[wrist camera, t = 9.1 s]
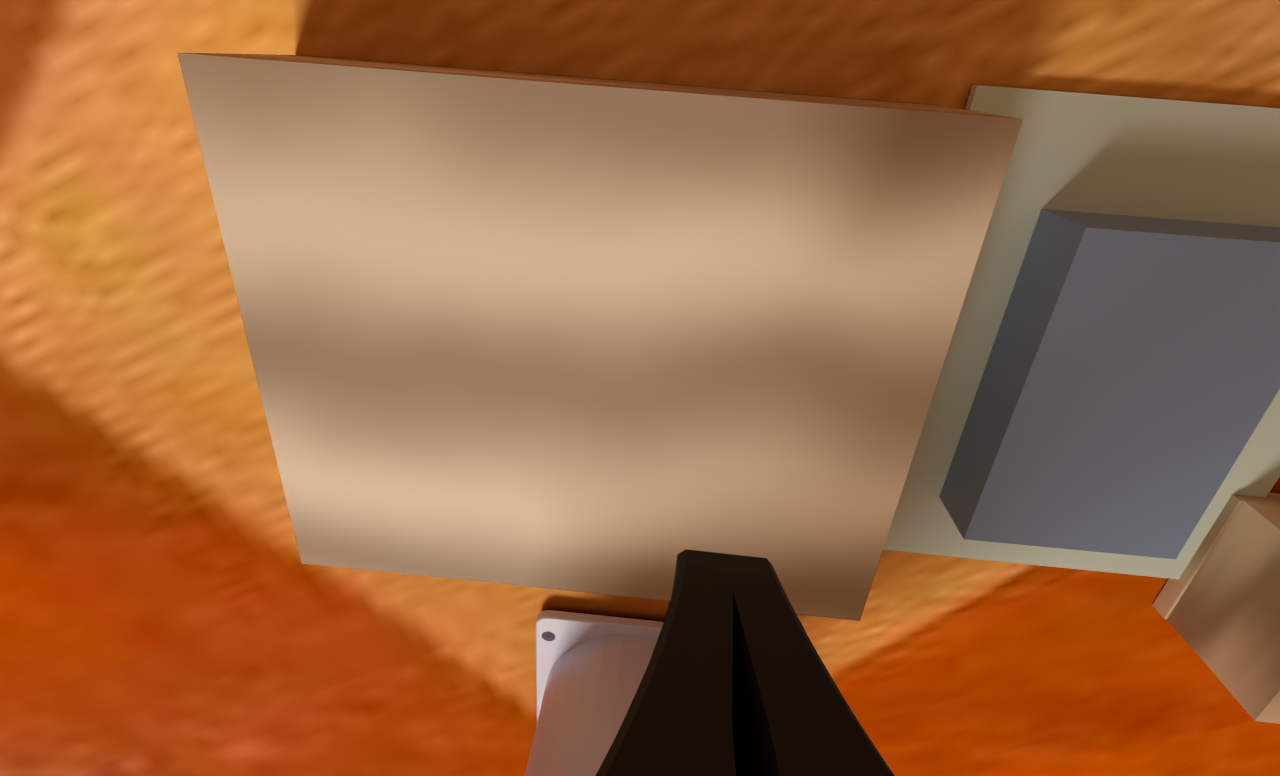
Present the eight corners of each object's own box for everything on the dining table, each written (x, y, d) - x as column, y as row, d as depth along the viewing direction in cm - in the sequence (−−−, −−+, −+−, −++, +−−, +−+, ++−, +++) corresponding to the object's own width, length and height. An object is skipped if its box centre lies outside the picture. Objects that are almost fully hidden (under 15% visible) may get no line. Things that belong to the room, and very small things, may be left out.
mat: (1202, 575, 21) (1209, 582, 21) (842, 540, 21) (844, 546, 21) (1497, 125, 14) (1512, 126, 14) (972, 84, 15) (977, 84, 15)
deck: (830, 527, 21) (859, 620, 18) (365, 481, 22) (301, 563, 18) (944, 105, 15) (1023, 119, 12) (294, 55, 16) (177, 52, 12)
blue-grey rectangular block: (963, 539, 18) (939, 496, 20) (1175, 559, 18) (1132, 514, 20) (1086, 227, 14) (1041, 209, 16) (1364, 248, 14) (1287, 227, 15)
